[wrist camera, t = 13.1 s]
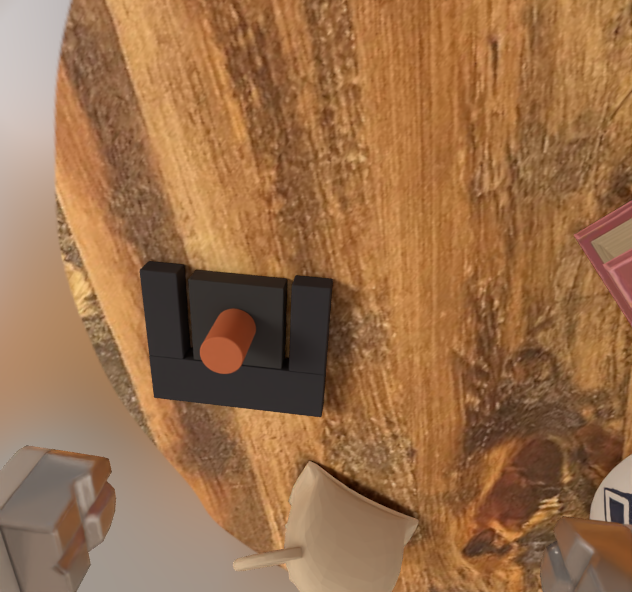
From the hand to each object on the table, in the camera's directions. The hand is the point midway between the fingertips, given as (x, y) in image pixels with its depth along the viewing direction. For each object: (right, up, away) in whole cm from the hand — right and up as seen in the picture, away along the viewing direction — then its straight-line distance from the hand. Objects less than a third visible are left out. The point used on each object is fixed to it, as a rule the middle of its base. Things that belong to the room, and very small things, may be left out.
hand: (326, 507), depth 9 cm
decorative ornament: (+7, -14, +33) cm, 36 cm away
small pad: (-5, +3, +25) cm, 25 cm away
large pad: (-5, +1, +26) cm, 26 cm away
